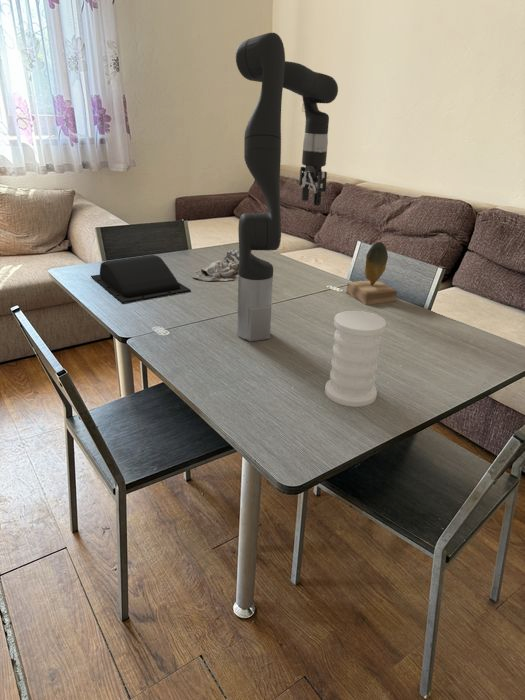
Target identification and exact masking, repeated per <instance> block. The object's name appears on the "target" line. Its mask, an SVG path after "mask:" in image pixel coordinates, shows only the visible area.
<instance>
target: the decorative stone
mask: <svg viewBox="0 0 525 700" xmlns="http://www.w3.org/2000/svg"><path fill="white" fill-rule="evenodd" d="M365 257H366V258H365V267H364V277H365V278H366V279H367V280H369V281H370V284H371V285H374V284H375V282H376V281H377V280H378V281H379V279H380V278H381V277H382V275H383V274H384V272H385V271H386V267H387V262H388V259H389V256H388V250H387V247H386V246H385V244H384V243H383V242H381V241H376V242H375V243H374V244H373V245H371V247H370V248H369V250H368V251H367V253H366V256H365Z"/></svg>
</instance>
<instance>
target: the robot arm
mask: <svg viewBox="0 0 525 700" xmlns="http://www.w3.org/2000/svg"><path fill="white" fill-rule="evenodd" d="M235 63H236V67H237V70H238V71H239V73H240V75H241V76H242V77H243V78H244V79H246V80H248V81H252V82H256V83H257V82H259V83H261V88H260V89H261V90H260V95H259V97H258V101H257V102H256V104H255V107H254V109H253V111H252V113H251V115H250V117H249V120H248V121H247V123H246V124H247V125H246V127H245V130H244V135H243V136H244V138H243V139H244V141H243V143H244V144H243V146H244V148H243V149H244V151H243V154H244V155H243V156H244V157H243V158H244V162H245V165H246V167H247V169H248V171H249V173H250V174H251V176H252V178H253V179H254V181H255V182H256V183H257V186H258V187H259V189H260V191H261V193H262V195H263V197H264V200H265V203H266V208H267V213H257V212H254V213H253V212H249V213H248V212H246V213H242V214H240V217H239V219H238V226H237V227H238V229H237V230H238V231H237V232H238V251H239V260H238V264H239V265H238V266H239V273H238V275H239V276H238V277H237V278H238V279H237V281H238V283H237V287H238V289H237V324H236V325H237V333H236V334H237V336H238V337H239V338H241V339H243V340H247V341H248V342H255V341H262V340H270V339H271V328H272V326H271V324H272V323H271V321H272V305H273V304H272V302H273V285H274V284H273V282H274V266H273V265H272V263H271V262H269V261H266V260H264V259H261V258H259V257H257V256H255V255H254V254H253V253H252V251H277V250H278V249H279V248H280V245H281V239H282V218H281V217H282V216H281V199H280V198H281V195H280V194H281V193H280V191H281V189H280V188H281V184H280V182H281V181H280V180H281V179H280V178H281V162H282V161H281V159H282V158H281V155H282V129H281V128H282V126H281V125H282V103H283V102H282V101H283V89H286V90H289V91H290V92H293V93H294V94H297V95H299V96H301V98H302V102H303V107H304V108H303V109H304V115H305V126H304V136H303V144H302V154H301V155H302V158H301V165H302V166H300V168H299V169H300V171H299V181H298V185H299V186H301V187H300V188H301V191H302V192H301V201H303V202H304V201H305V202H306V201H309V198H310V197H309V195H310V187H312V188H313V191H314V193H313V200H312V202H313V203H312V204H313V205H314V206H316V207H317V206H320V205H321V200H322V194H323V193H326V191H327V178H328V177H327V175H328V172H327V171H322V167H325V166H326V165H327V156H328V155H327V154H328V139H329V138H328V137H329V136H328V135H329V123H330V115H329V114H328V113H326V112H323V111H322V110H320V109H319V107H318V104H330V103H333V102H334V101H335V100H336V98H337V96H338V93H339V86H338V82H337V81H336V79H335V78H334V77H333V76H330V75H328V74H325V73H324V74H323V72H322V73H321V72H317V71H314V70H312V69H310V68H309V67H307V66H306V65H304V64H301V63H298V62H295V61H294V62H293V61H286V53H285V47H284V42H283V40H282V38H281V36H280V35H279V34H278V33H276V32H268V33H264V34H261V35H257V36H254V37H252V38H248V39H246V40H244V41H241V42H240V43H239V45H238V46H237V48H236V51H235Z"/></svg>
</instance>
